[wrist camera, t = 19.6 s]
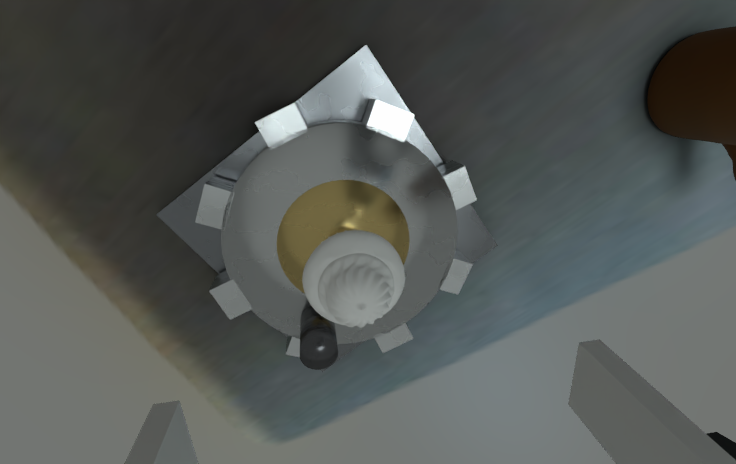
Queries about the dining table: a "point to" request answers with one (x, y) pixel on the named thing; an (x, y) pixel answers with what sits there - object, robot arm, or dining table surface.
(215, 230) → the base plate
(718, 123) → the mug
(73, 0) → the dining table surface
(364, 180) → the sprocket
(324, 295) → the muffin
